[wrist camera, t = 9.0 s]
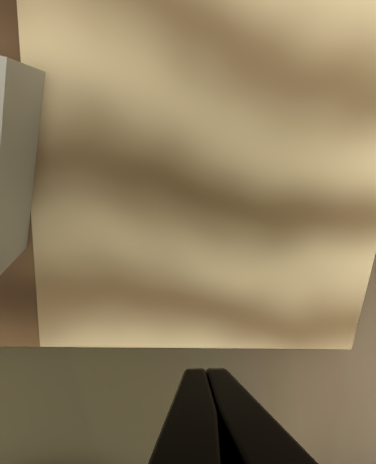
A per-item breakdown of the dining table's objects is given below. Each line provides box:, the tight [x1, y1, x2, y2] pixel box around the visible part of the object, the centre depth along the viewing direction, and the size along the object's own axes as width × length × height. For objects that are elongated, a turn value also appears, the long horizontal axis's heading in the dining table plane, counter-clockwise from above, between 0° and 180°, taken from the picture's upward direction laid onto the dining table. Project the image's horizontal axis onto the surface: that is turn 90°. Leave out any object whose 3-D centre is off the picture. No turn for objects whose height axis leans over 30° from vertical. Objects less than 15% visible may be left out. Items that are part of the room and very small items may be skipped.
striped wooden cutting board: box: [0, 0, 376, 349], centre depth 17 cm, size 18×26×1 cm
